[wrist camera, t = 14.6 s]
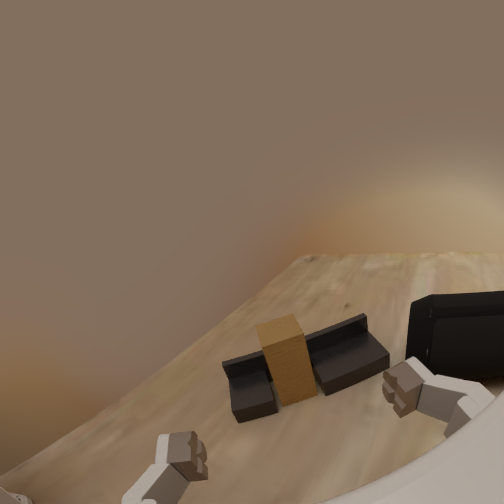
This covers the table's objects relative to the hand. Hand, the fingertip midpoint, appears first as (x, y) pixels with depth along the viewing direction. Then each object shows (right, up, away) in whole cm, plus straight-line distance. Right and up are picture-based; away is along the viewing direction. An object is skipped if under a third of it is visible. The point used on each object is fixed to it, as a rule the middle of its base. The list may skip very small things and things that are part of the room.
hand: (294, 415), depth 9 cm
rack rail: (+6, -10, +23) cm, 26 cm away
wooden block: (+4, -11, +22) cm, 25 cm away
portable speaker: (+28, -7, +11) cm, 31 cm away
